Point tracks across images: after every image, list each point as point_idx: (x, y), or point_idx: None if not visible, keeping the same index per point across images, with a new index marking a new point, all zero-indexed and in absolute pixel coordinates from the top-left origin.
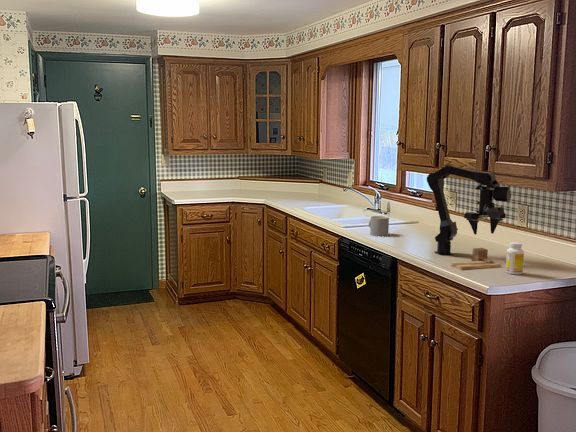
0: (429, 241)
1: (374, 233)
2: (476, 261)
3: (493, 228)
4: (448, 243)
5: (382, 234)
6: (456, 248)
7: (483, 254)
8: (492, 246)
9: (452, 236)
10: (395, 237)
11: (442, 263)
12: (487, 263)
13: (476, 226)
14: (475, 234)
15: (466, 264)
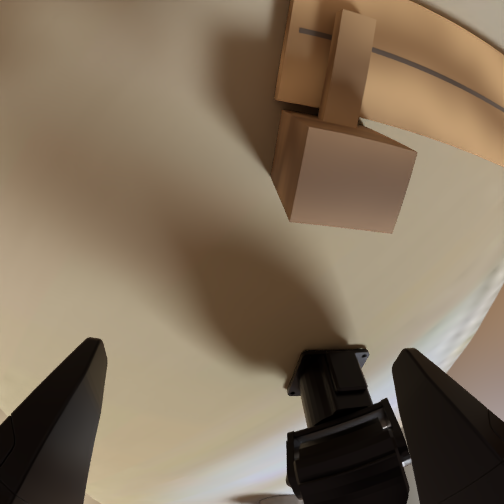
0: (206, 471)
1: (302, 501)
2: (403, 114)
3: (71, 407)
4: (350, 400)
5: (289, 499)
6: (181, 415)
7: (342, 127)
8: (14, 381)
9: (353, 433)
10: (265, 492)
11: (500, 220)
12: (381, 28)
13: (487, 428)
14: (411, 349)
15: (500, 100)
